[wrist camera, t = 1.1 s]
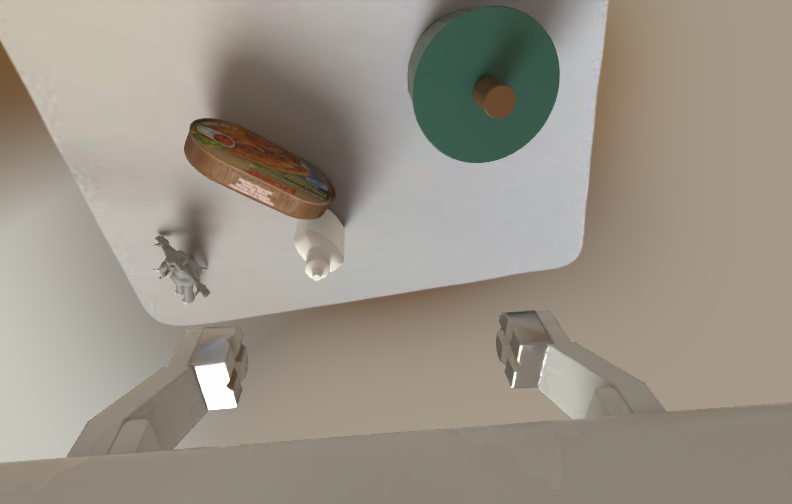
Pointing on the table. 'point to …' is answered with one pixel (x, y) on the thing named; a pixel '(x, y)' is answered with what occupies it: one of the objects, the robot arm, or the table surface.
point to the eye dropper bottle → (320, 244)
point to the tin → (258, 169)
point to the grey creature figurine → (181, 271)
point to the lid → (485, 84)
